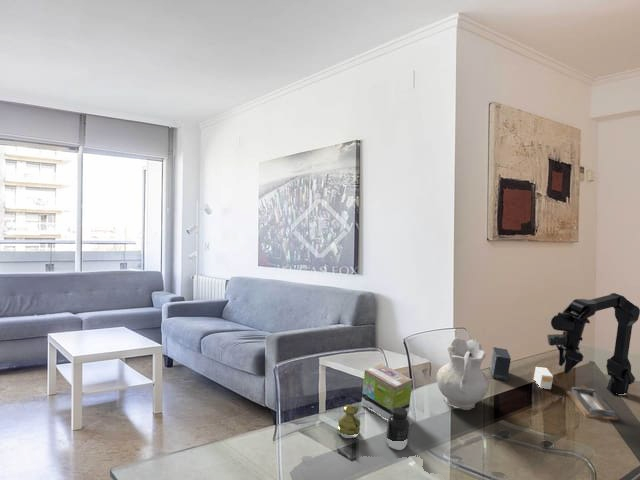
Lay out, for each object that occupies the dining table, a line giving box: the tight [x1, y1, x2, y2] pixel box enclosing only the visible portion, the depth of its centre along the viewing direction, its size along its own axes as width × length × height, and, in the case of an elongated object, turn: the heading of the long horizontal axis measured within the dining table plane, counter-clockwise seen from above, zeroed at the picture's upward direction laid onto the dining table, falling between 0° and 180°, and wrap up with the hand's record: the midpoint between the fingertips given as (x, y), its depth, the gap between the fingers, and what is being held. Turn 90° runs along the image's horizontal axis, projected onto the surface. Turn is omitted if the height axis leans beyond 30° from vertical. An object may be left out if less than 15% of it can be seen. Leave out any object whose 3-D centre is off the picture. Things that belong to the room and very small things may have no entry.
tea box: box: [361, 363, 413, 419], centre depth 179 cm, size 15×10×15 cm, turn 42°
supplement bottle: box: [386, 407, 410, 441], centre depth 159 cm, size 7×7×12 cm
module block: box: [533, 366, 554, 390], centre depth 211 cm, size 4×8×6 cm, turn 175°
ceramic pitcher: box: [436, 336, 490, 407], centre depth 187 cm, size 22×20×25 cm
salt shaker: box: [337, 404, 362, 435], centre depth 164 cm, size 7×8×10 cm
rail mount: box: [566, 386, 620, 421], centre depth 195 cm, size 12×18×3 cm, turn 175°
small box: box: [489, 347, 512, 381], centre depth 217 cm, size 11×6×10 cm, turn 168°
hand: (562, 369), depth 194 cm, fingers open, 9 cm apart
